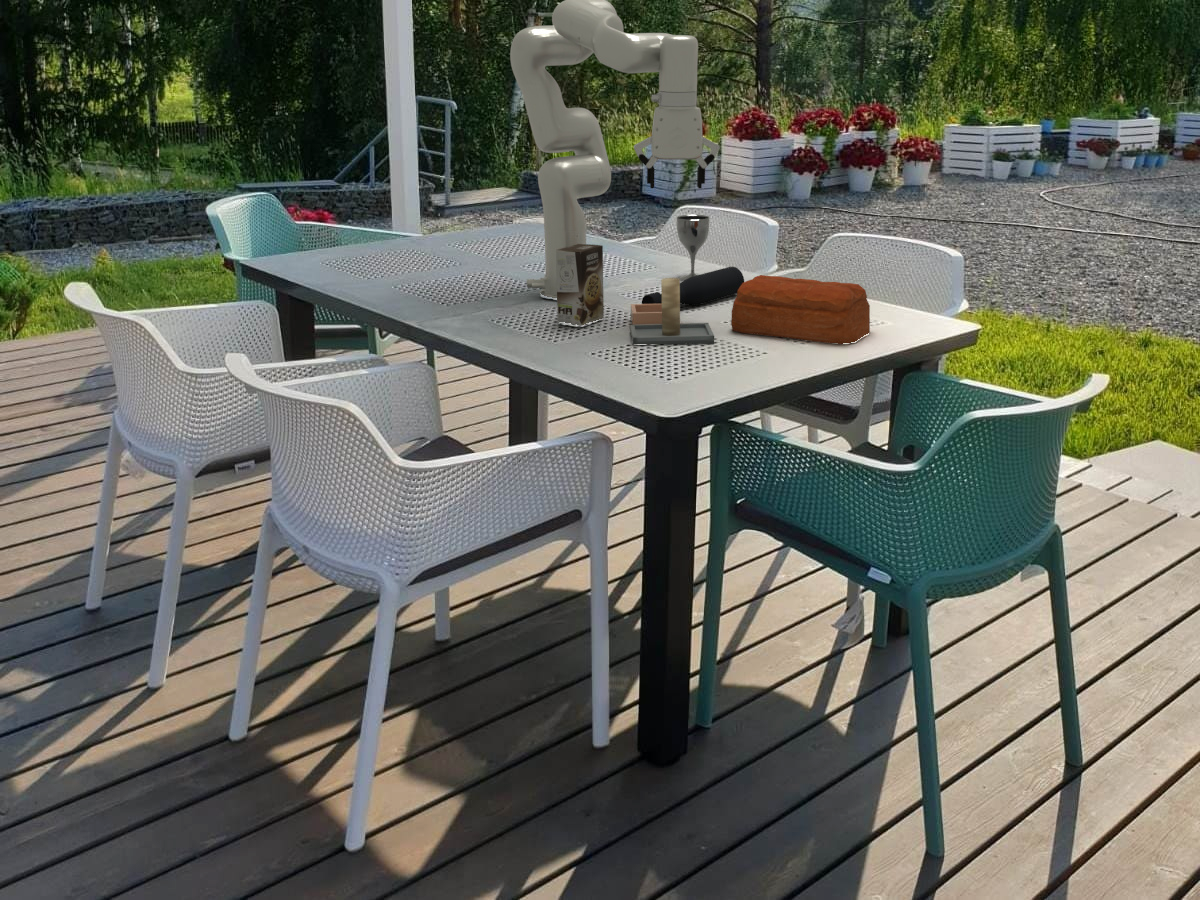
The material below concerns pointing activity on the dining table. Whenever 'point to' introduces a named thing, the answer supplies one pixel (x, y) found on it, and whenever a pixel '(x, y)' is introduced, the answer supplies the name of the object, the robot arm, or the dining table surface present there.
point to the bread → (801, 309)
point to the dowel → (670, 306)
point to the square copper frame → (646, 314)
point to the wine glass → (692, 236)
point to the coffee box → (580, 284)
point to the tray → (688, 335)
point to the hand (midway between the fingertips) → (675, 187)
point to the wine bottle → (704, 287)
